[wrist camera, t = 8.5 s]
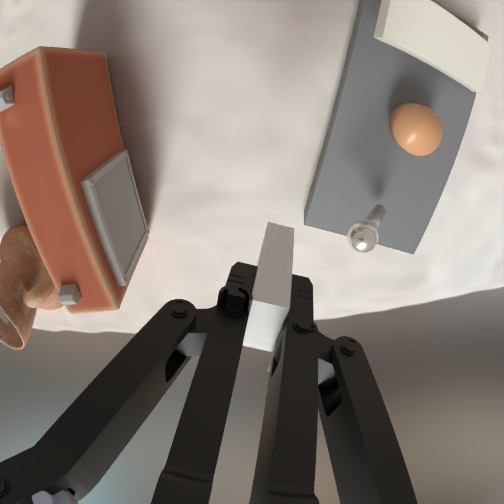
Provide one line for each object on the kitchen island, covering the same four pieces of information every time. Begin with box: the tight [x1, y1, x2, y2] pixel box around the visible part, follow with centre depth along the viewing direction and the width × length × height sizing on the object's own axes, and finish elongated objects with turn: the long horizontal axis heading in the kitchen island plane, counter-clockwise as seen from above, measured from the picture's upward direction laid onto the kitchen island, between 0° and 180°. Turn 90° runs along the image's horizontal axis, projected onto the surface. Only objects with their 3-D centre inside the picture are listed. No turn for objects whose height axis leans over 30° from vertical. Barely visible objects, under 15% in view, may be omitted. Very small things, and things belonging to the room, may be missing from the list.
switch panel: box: [304, 0, 488, 254], centre depth 22 cm, size 24×12×4 cm, turn 169°
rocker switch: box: [373, 0, 492, 94], centre depth 15 cm, size 5×11×1 cm, turn 79°
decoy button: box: [389, 102, 443, 156], centre depth 20 cm, size 4×4×2 cm
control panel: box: [0, 46, 150, 314], centre depth 23 cm, size 21×7×15 cm, turn 7°
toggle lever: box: [347, 204, 386, 253], centre depth 23 cm, size 2×2×8 cm
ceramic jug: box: [0, 225, 63, 349], centre depth 34 cm, size 18×14×14 cm
